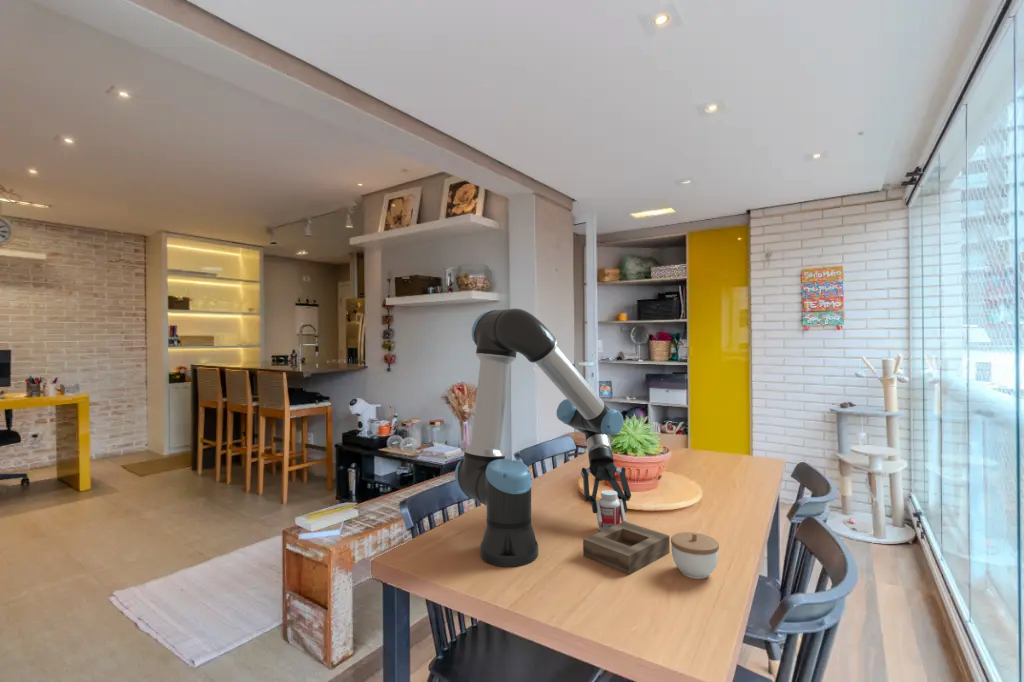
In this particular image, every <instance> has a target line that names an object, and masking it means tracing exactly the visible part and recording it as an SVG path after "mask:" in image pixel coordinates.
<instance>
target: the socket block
mask: <svg viewBox="0 0 1024 682" xmlns="http://www.w3.org/2000/svg"><path fill="white" fill-rule="evenodd" d="M670 543H671V538H670V535H669V534H666V533H663V532H660V531H656V530H653V529H650V528H646V527H644V526H642V525H641V526H640V525H637V524H634V523H631V522H629V521H626V522H625V521H624V522H620V523H619V524H617V525H615V526H612V527H610V528H608V529H605V530H603V531H600V530H599V532H596V533H593V534H592V535H589V536H586V537H584V538H582V547H583V548H582V554H583V555H582V556H583V557H584V558H586V559H590V560H591V561H594V562H596V563H599V564H601V565H604V566H606V567H609V568H611V569H613V570H616V571H619V572H621V573H623V574H625V575H628V576H630V575H632V574H634V573H636V572H637V571H639V570H640V569H643V568H644V567H646V566H648V565H650V564H652V563H653V562H656V561H657V560H660V559H661V558H663V557H665V556H666V555H668V554H670V550H671V549H670V546H671V544H670Z"/></svg>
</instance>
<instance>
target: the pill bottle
mask: <svg viewBox="0 0 1024 682" xmlns="http://www.w3.org/2000/svg"><path fill="white" fill-rule="evenodd" d="M598 500H599V504H600V511H601V517H602V523H601V525H598V530H599V532H600V531H603V530H605V529H608V528H610V527H612V526H615V525H617V524H619V523H621V517H620V502H619V499H618V497H617V492H616V491H614V489H613V490H611V489H604V490H602V491H601V492H600V498H599V499H598Z"/></svg>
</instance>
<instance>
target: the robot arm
mask: <svg viewBox="0 0 1024 682" xmlns="http://www.w3.org/2000/svg"><path fill="white" fill-rule="evenodd" d="M471 327H472V328H471V338H472V341H473V342H474V345H475V346H476V351H475V356H477V358H478V359H479V369H478V379H477V388H476V396H475V404H474V406H475V407H474V411H473V412H474V413H473V421H472V422H473V424H472V430H471V439H470V444H469V445H468V446H467V447H466V448H465V449H464V452H463V453H464V454H463V457H461V460H459V461H458V463H457V465H456V467H455V471H454V479H455V483H456V486H457V488H458V489H459V491H461V493H463V494H464V495H465V496H466V497H468V498H469V499H472V500H474V501H476V502H478V503H480V504H482V505H484V506H486V526H485V529H484V534H483V538H482V540H481V543H480V546H479V551H480V552H479V553H480V554H479V555H480V558H481V560H483V561H484V562H485V563H488V564H491V565H494V566H497V567H519V566H524V565H527V564H530V563H532V562H534V561H535V560H536V559H538V556H539V543H538V541H537V539H536V538H537V537H536V534H535V531H534V528H533V525H532V485H533V480H532V475H531V473H532V472H531V469H530V468H529V466H528V465H526V464H525V463H523V462H522V461H519V460H512V459H507V458H506V453H505V452H504V450H503V449H502V448H501V447H502V439H503V429H504V420H505V412H506V403H507V401H506V400H507V395H508V393H507V392H508V385H509V376H510V366H511V364H512V363H513V362H514V361H515V360H516V359H517V353H519V354H520V355H522V356H524V357H525V358H526V360H527V361H528V362H530V363H532V364H533V363H534V364H536V365H537V366H538V367H539V368H540V369H541V371H542V372H543V373H544V374H545V375H546V376H547V378H549V380H550V381H551V382H552V383H553V384H554V386H555V387H556V388H557V389H558V390H559V391H560V392H561V393H562V395H564V397H565V399H563V400H562V401H561V402H559V404H558V406H557V409H556V411H555V413H556V417H557V419H558V420H559V421H560V422H562V423H563V424H565V425H567V426H568V427H571V428H572V429H574V430H577V431H579V432H580V433H582V434H583V435H584V436H585V443H586V448H587V455H588V461H589V463H588V464H589V466H588V467H587V468H585V467H582V468H581V472H580V475H581V477H582V479H583V481H582V482H583V483H582V484H583V500H584V502H589V503H590V505H591V510H592V514H596V519H597V520H596V521H597V526H599V525H601V523H602V517H601V511H600V504H599V500H600V499H597V494H598V490H599V484H600V482H602V481H607V482H608V483H609V484H610V485H611V487H612V489H613V491H616V492H617V500H618V501H619V502H620V523H622V522H624V521H625V522H627V517H626V513H627V512H628V505H627V502H629V501H630V500H631V497H632V494H631V490H630V487H629V483H628V480H627V476H626V467H624V466H623V467H621V468H620V467H618V466H616V464H615V461H614V460H615V459H614V456H613V452H612V451H613V450H612V445H611V440H610V436H616V435H618V434H619V433H620V432H621V430H622V429H623V427H624V417H623V414H622V413H621V412H620V411H618V410H616V409H614V408H610V407H608V405H607V404H606V403H605V402H604V401H603V400H602V399H601V397H600V396H599V395H598V393H597V392H596V391H595V389H593V388H592V386H591V385H590V384H589V382H588V381H586V379H585V378H584V377H583V375H582V374H581V373H580V372H579V370H578V369H577V368H576V367H575V366H574V364H572V362H571V360H569V358H568V357H567V356H566V355H565V354H564V352H563V351H562V350H561V348H560V347H558V345H557V342H558V340H557V338H556V337H555V336H554V334H553V333H552V332H551V331H550V330H549V328H547V327H546V325H545V324H544V323H542V322H541V320H539V319H538V318H537V317H535V315H533V314H532V313H530V312H528V311H526V310H524V309H521V308H509V309H492V310H489V311H486V312H483V313H481V314H480V315H479V316H478V317H476V319H475V320H474V322H473V324H472V326H471ZM615 473H616V474H617V475H618V477H619V480H620V484H621V486H620V484H619V483H618V480H617V479H616V476H615ZM590 474H591V475H592V476H593V477H594V482H593V488H592V494H591V495H590V484H589V476H590Z"/></svg>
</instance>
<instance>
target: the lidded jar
mask: <svg viewBox="0 0 1024 682" xmlns="http://www.w3.org/2000/svg"><path fill="white" fill-rule="evenodd" d="M670 543H671V544H670V545H671V555H672V559H673V562H674V564H675V566H676V567H677V569H678V570H679V571H680V572H681V574H682V575H683V576H685V577H687V578H690V579H694V580H695V579H696V580H703V579H707V578H708V577H709V575H711V574H712V573H713V572H714V571H715V569H716V568H717V567H716V566H717V564H718V559H719V548H720V543H719V542H718V540H716V538H714V537H712V536H709V535H707V534H703V533H699V532H691V531H690V532H689V531H688V532H687V531H686V532H679V533H674V534H673V535H672V536H671V537H670Z"/></svg>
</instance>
